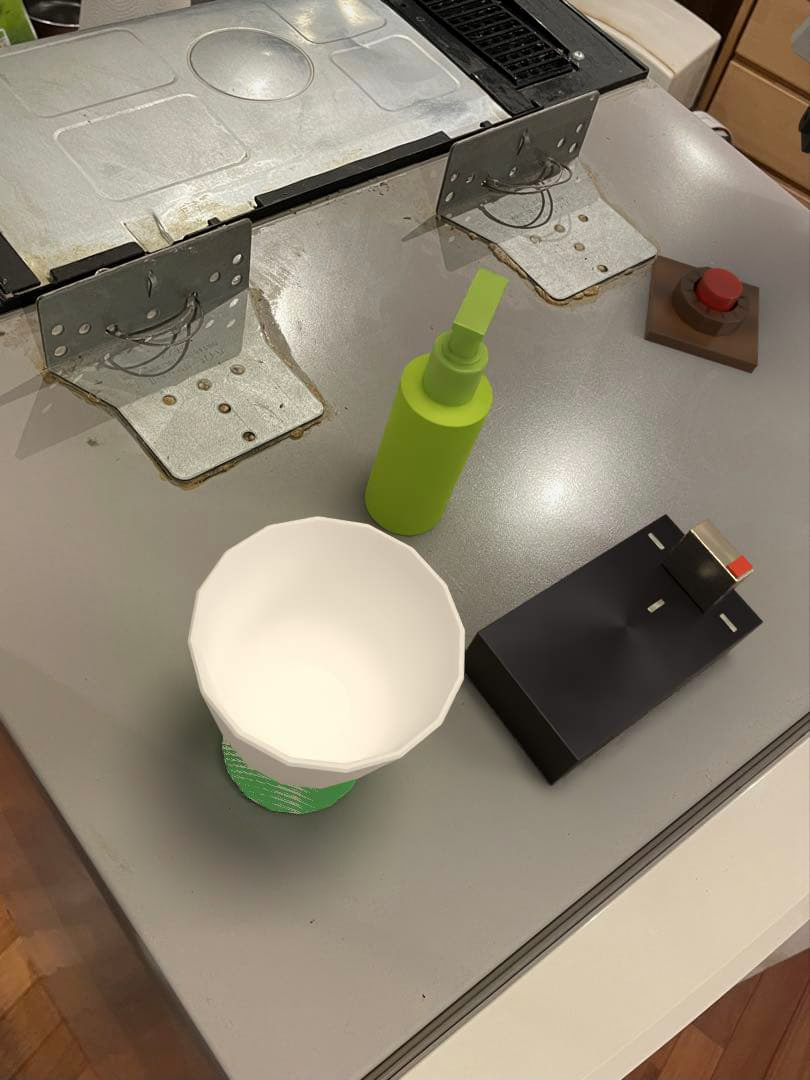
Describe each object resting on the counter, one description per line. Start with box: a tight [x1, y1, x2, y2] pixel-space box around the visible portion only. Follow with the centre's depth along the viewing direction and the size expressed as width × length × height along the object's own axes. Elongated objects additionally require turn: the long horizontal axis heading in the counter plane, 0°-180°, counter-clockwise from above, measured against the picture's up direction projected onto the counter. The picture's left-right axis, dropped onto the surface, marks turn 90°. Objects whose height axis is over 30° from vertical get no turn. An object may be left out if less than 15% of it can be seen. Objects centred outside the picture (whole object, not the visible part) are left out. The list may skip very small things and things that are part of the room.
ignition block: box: [644, 254, 760, 374], centre depth 88 cm, size 10×10×3 cm
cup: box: [187, 515, 466, 815], centre depth 55 cm, size 14×14×16 cm
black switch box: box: [464, 513, 764, 786], centre depth 67 cm, size 20×10×5 cm, turn 127°
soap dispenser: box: [364, 266, 510, 537], centre depth 64 cm, size 6×7×20 cm
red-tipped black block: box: [662, 518, 755, 612], centre depth 66 cm, size 4×2×5 cm, turn 36°
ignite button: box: [695, 267, 742, 312], centre depth 86 cm, size 4×4×2 cm
